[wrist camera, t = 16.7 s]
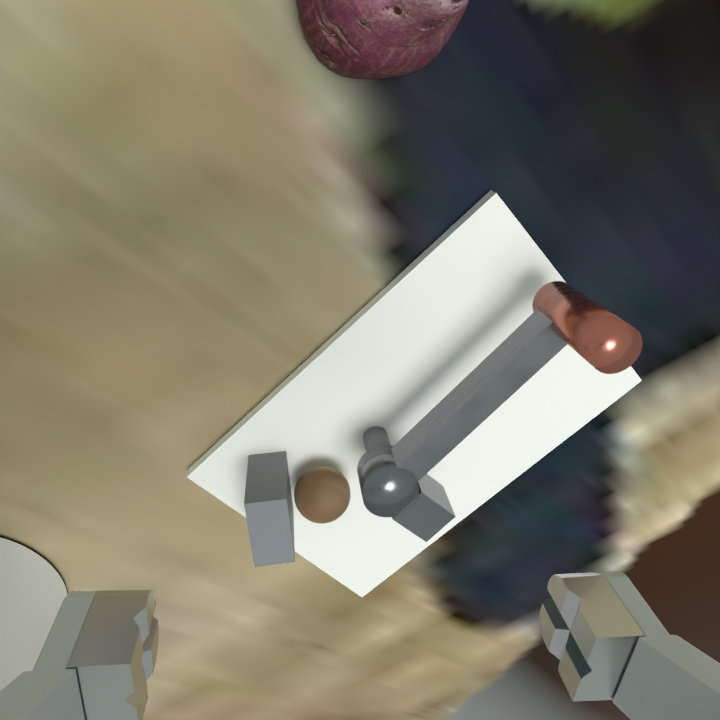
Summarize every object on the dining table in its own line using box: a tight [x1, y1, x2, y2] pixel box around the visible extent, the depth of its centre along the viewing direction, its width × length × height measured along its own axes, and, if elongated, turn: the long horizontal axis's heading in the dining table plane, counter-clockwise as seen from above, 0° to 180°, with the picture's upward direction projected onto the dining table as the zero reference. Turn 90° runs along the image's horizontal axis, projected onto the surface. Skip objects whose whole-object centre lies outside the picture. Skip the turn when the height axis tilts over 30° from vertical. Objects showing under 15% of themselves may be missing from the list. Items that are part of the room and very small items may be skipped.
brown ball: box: [294, 466, 350, 524], centre depth 45 cm, size 4×4×4 cm
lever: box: [357, 281, 642, 542], centre depth 37 cm, size 20×7×8 cm, turn 137°
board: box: [187, 190, 642, 597], centre depth 44 cm, size 32×21×7 cm, turn 132°
